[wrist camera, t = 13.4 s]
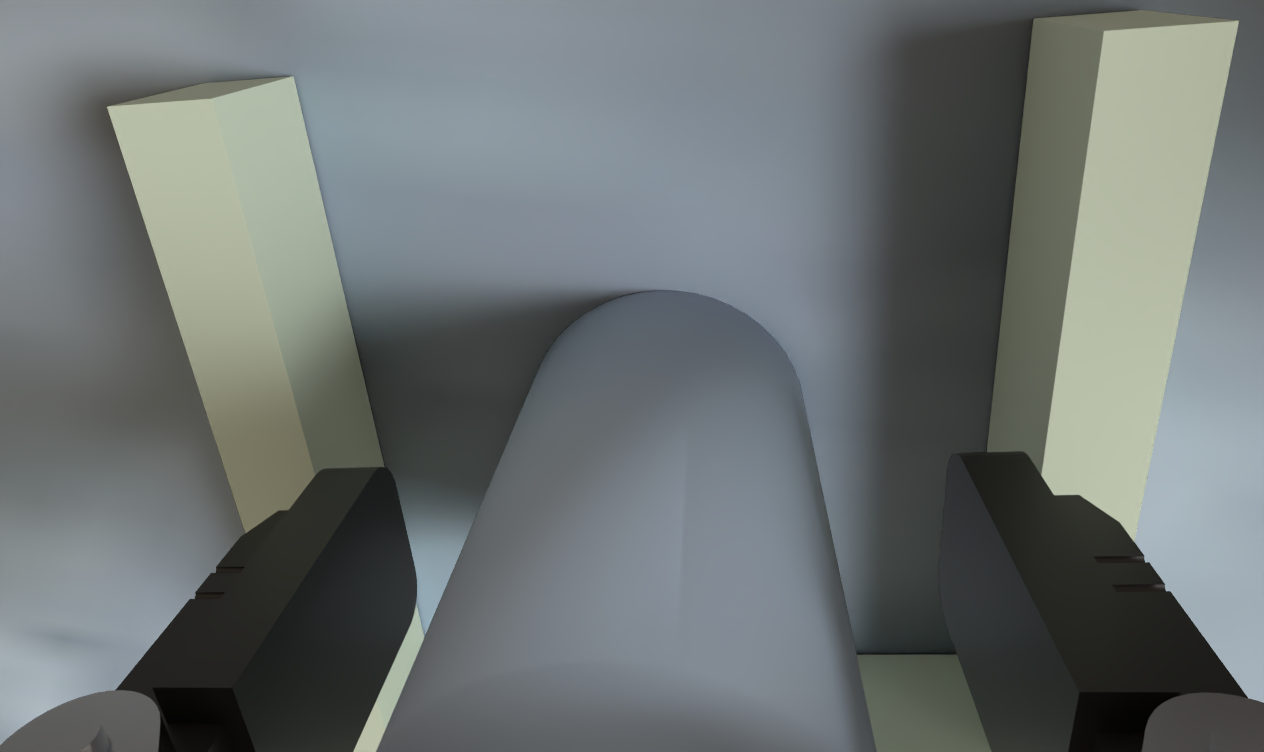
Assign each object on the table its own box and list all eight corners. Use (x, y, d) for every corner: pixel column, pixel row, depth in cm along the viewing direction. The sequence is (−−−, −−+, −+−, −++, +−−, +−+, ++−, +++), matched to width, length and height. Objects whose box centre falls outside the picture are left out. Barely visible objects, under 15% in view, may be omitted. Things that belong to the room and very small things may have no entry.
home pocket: (204, 82, 11) (106, 106, 9) (1143, 10, 10) (1239, 21, 8) (376, 706, 16) (333, 803, 14) (1033, 709, 14) (1078, 815, 13)
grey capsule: (514, 297, 12) (298, 661, 6) (805, 283, 12) (913, 662, 5) (548, 534, 14) (411, 1014, 8) (804, 530, 13) (884, 1036, 7)
